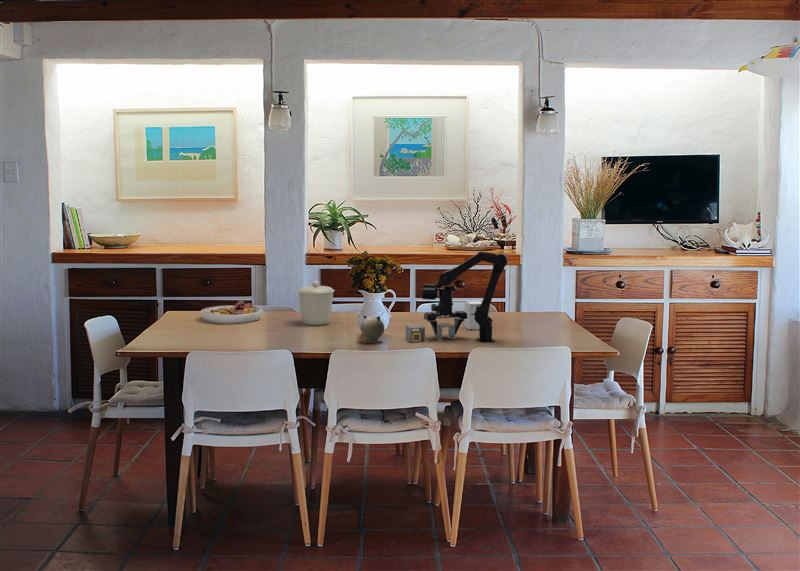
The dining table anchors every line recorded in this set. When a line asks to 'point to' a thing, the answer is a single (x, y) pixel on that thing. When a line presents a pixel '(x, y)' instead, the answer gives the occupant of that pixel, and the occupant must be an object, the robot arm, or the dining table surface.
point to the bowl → (232, 313)
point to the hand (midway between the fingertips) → (445, 334)
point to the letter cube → (416, 336)
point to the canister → (315, 304)
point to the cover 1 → (409, 332)
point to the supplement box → (471, 314)
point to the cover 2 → (450, 330)
